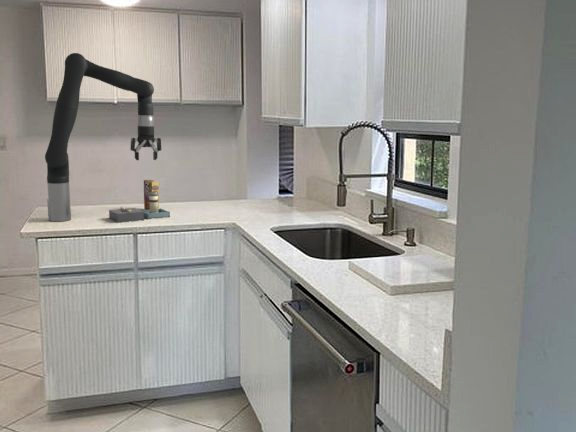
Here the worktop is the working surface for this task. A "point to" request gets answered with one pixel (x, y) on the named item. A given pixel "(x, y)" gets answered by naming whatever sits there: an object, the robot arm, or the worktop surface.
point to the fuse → (153, 202)
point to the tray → (156, 214)
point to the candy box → (150, 187)
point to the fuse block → (126, 215)
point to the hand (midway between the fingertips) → (146, 160)
